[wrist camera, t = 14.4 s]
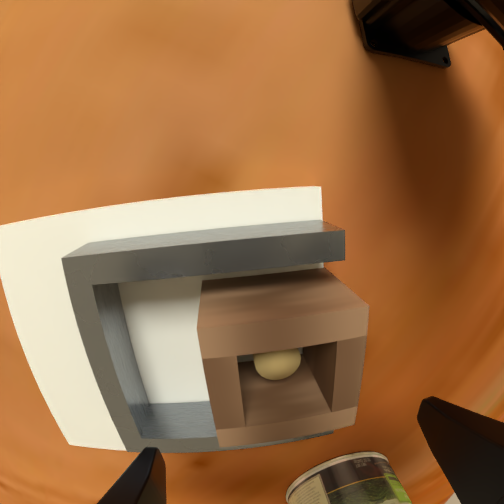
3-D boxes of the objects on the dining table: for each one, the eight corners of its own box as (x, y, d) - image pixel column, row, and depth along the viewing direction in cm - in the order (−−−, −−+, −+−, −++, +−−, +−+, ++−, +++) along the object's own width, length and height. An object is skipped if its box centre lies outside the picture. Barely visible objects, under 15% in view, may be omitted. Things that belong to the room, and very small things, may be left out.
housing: (320, 219, 15) (344, 229, 12) (318, 400, 17) (333, 433, 14) (88, 242, 14) (61, 258, 11) (136, 417, 16) (127, 451, 13)
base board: (313, 186, 15) (346, 189, 11) (312, 424, 19) (329, 466, 15) (2, 224, 14) (-42, 238, 10) (74, 434, 18) (57, 472, 14)
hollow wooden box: (324, 267, 15) (369, 306, 10) (322, 367, 17) (354, 424, 12) (202, 280, 15) (196, 328, 10) (217, 381, 16) (219, 447, 11)
